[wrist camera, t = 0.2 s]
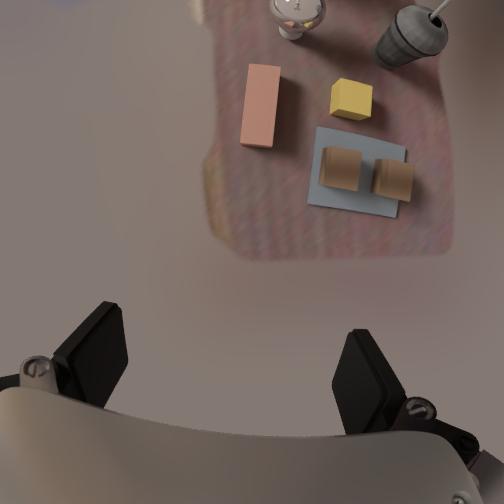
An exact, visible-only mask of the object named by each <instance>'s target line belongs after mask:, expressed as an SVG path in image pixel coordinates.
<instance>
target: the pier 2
mask: <svg viewBox="0 0 504 504" xmlns="http://www.w3.org/2000/svg"><path fill="white" fill-rule="evenodd" d="M414 169H415V165H412V164H408V163H404V162H401V161H397V160H393V159H375V162H374V171H373V178H372V185H371V192H370V193H374V194H377V195H381V196H385V197H390V198H394V199H399V200H404V201H408V202H410V198H411V191H412V184H413V177H414Z"/></svg>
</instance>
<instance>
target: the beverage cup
mask: <svg viewBox="0 0 504 504" xmlns="http://www.w3.org/2000/svg"><path fill="white" fill-rule="evenodd" d="M451 1H453V0H445V1H444V3H442V4H441V5H440V6H439V7H438V9H436V11H432V10H431V9H429V8H426V7H423V6H417V5H412V6H408V7H405V8H403V9H401V10H399V11H397V13H396V14H395V17H394V19H393V21H392V24H391V25H390V26H389V28H388V29H387V30H386V31H385V33H384V34H383V35H382V36H381V38H380V39H379V40H378V42H377V43H376V44H375V47H374V48H373V49H372V57H373V59H374V61H375V62H376V63H377V65H379V66H380V67H382V68H384V69H393V68H396V67H399V66H402V65H404V64H407V63H409V62H412V61H414V60H417V59H420V58H422V57H428V56H436V55H437V54H439V53H440V52H441V50H443V49H444V47H445V46H446V44H447V41H448V30H447V27H446V24H445V23H444V21H443V20H442V18H441V17H440V16H439V15H438V14H439V13H440V12H441V11H442V10H443V9H444V8H445V7H446V6H447V5H448V4H449V3H450V2H451Z"/></svg>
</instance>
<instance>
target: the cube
mask: <svg viewBox="0 0 504 504" xmlns="http://www.w3.org/2000/svg"><path fill="white" fill-rule="evenodd" d="M371 103H372V86H370V85H366V84H363V83H359V82H355V81H351V80H347V79H343V78H340V79H339V80H338V81H337V82H336V83H335V84H334V85H333V86H332V94H331V106H330V115H335V116H339V117H344V118H348V119H353V120H357V121H360V120H363V119H366V118H368V117H371Z"/></svg>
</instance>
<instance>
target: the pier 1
mask: <svg viewBox="0 0 504 504" xmlns="http://www.w3.org/2000/svg"><path fill="white" fill-rule="evenodd" d="M361 159H362V152H360V151H355V150H351V149H346V148H341V147H336V146H329V147H325V148H322V157H321V165H320V173H319V181H318V184H321V185H325V186H330V187H336V188H342V189H348V190H353V191H357V190H358V183H359V175H360V168H361Z"/></svg>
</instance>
